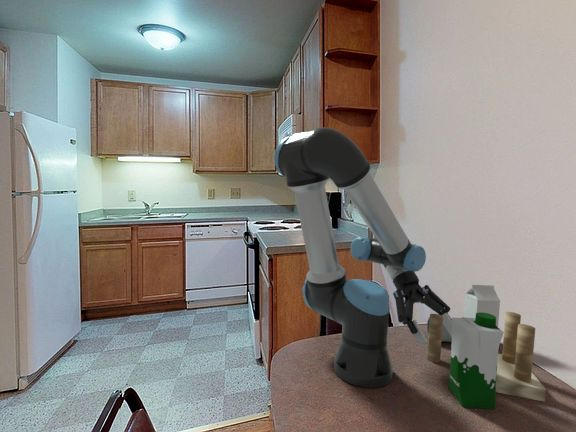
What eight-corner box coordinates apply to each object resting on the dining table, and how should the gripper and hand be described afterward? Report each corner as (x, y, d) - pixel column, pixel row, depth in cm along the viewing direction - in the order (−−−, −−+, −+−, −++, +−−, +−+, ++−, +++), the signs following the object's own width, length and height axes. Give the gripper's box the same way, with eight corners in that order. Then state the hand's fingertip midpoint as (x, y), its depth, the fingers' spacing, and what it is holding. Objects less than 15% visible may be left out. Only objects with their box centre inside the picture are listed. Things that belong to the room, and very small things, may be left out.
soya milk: (502, 412, 70) (509, 323, 68) (460, 410, 70) (466, 321, 69) (479, 388, 78) (485, 309, 77) (442, 386, 79) (447, 307, 77)
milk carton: (496, 346, 101) (501, 288, 100) (474, 346, 101) (478, 287, 100) (483, 337, 108) (487, 282, 107) (462, 336, 108) (466, 281, 107)
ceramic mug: (459, 346, 101) (461, 322, 100) (433, 344, 102) (434, 320, 101) (446, 333, 111) (448, 311, 111) (422, 331, 112) (423, 309, 112)
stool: (467, 386, 79) (472, 324, 78) (455, 356, 94) (459, 303, 93) (544, 401, 74) (550, 335, 73) (518, 367, 89) (523, 311, 88)
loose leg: (427, 361, 91) (430, 317, 90) (426, 355, 94) (429, 313, 93) (440, 363, 90) (443, 318, 89) (439, 358, 93) (441, 314, 92)
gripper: (421, 277, 111) (458, 337, 99) (366, 285, 99) (401, 353, 87) (436, 266, 106) (477, 327, 94) (379, 272, 94) (418, 342, 82)
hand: (440, 340), depth 90 cm, fingers open, 13 cm apart
